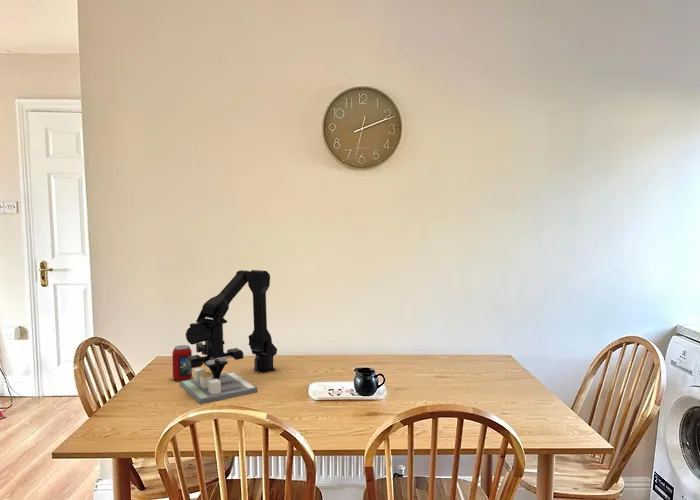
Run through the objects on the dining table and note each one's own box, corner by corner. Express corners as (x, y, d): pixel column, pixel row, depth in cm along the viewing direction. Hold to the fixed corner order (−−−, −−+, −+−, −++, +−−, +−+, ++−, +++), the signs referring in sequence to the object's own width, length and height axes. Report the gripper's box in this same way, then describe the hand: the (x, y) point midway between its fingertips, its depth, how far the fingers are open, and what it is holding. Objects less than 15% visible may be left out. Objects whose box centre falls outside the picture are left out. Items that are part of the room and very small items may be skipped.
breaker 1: (202, 378, 181) (202, 367, 181) (205, 381, 178) (205, 370, 178) (193, 380, 179) (193, 369, 179) (197, 382, 176) (197, 371, 176)
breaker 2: (216, 390, 169) (216, 378, 169) (220, 393, 166) (220, 381, 166) (208, 391, 167) (208, 380, 167) (211, 394, 164) (211, 383, 164)
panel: (233, 375, 190) (233, 371, 190) (257, 392, 172) (257, 387, 172) (179, 385, 178) (179, 381, 178) (200, 404, 160) (200, 399, 160)
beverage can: (186, 382, 182) (185, 349, 181) (169, 381, 183) (168, 348, 182) (195, 376, 188) (194, 345, 188) (179, 375, 190) (178, 344, 189)
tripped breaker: (208, 384, 175) (208, 371, 175) (212, 387, 172) (212, 374, 172) (199, 385, 173) (199, 373, 173) (203, 388, 170) (203, 375, 170)
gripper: (231, 329, 185) (232, 370, 186) (180, 337, 175) (182, 381, 176) (243, 335, 176) (244, 378, 177) (190, 343, 165) (192, 389, 167)
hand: (216, 381), depth 174 cm, fingers closed
